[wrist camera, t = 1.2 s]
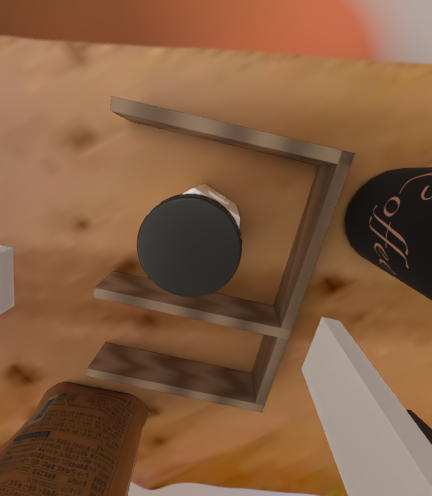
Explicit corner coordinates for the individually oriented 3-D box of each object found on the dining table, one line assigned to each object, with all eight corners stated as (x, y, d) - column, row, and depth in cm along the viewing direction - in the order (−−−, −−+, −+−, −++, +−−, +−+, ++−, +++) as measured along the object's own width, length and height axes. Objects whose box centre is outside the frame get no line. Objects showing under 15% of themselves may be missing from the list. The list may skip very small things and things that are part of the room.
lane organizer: (104, 349, 36) (86, 376, 32) (131, 109, 27) (111, 95, 23) (257, 381, 37) (261, 412, 32) (332, 156, 28) (354, 153, 23)
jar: (252, 212, 30) (268, 237, 19) (216, 266, 32) (210, 317, 21) (188, 170, 29) (163, 169, 18) (155, 229, 31) (113, 262, 20)
